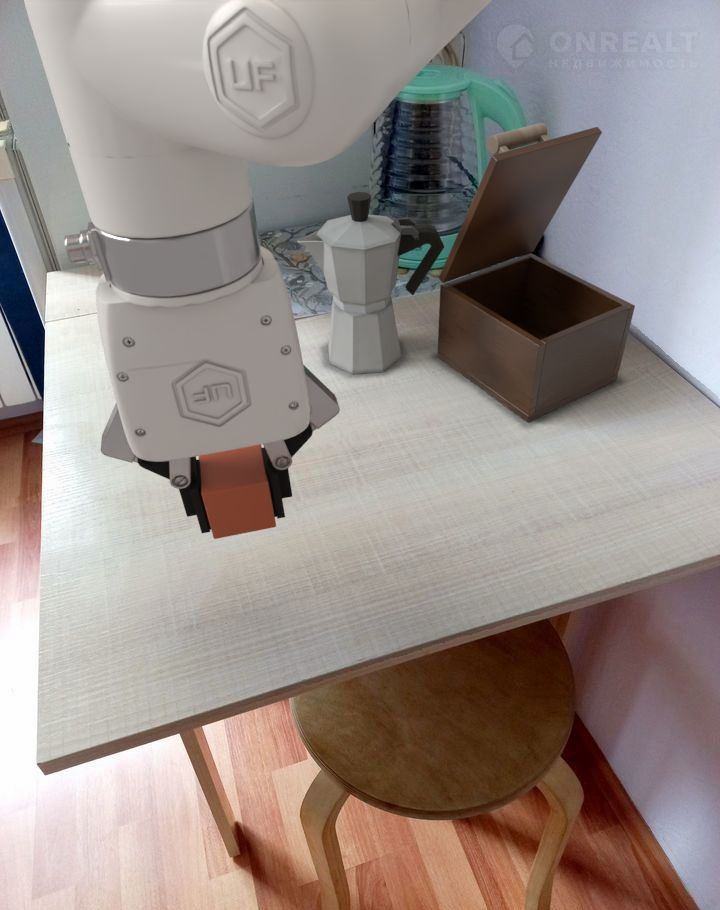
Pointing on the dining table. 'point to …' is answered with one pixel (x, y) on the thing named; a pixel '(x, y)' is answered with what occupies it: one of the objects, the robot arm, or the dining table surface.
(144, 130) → the robot arm
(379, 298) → the coffee maker
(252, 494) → the block
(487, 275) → the wooden trinket chest
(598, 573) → the dining table surface
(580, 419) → the dining table surface
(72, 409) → the dining table surface
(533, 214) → the lid
